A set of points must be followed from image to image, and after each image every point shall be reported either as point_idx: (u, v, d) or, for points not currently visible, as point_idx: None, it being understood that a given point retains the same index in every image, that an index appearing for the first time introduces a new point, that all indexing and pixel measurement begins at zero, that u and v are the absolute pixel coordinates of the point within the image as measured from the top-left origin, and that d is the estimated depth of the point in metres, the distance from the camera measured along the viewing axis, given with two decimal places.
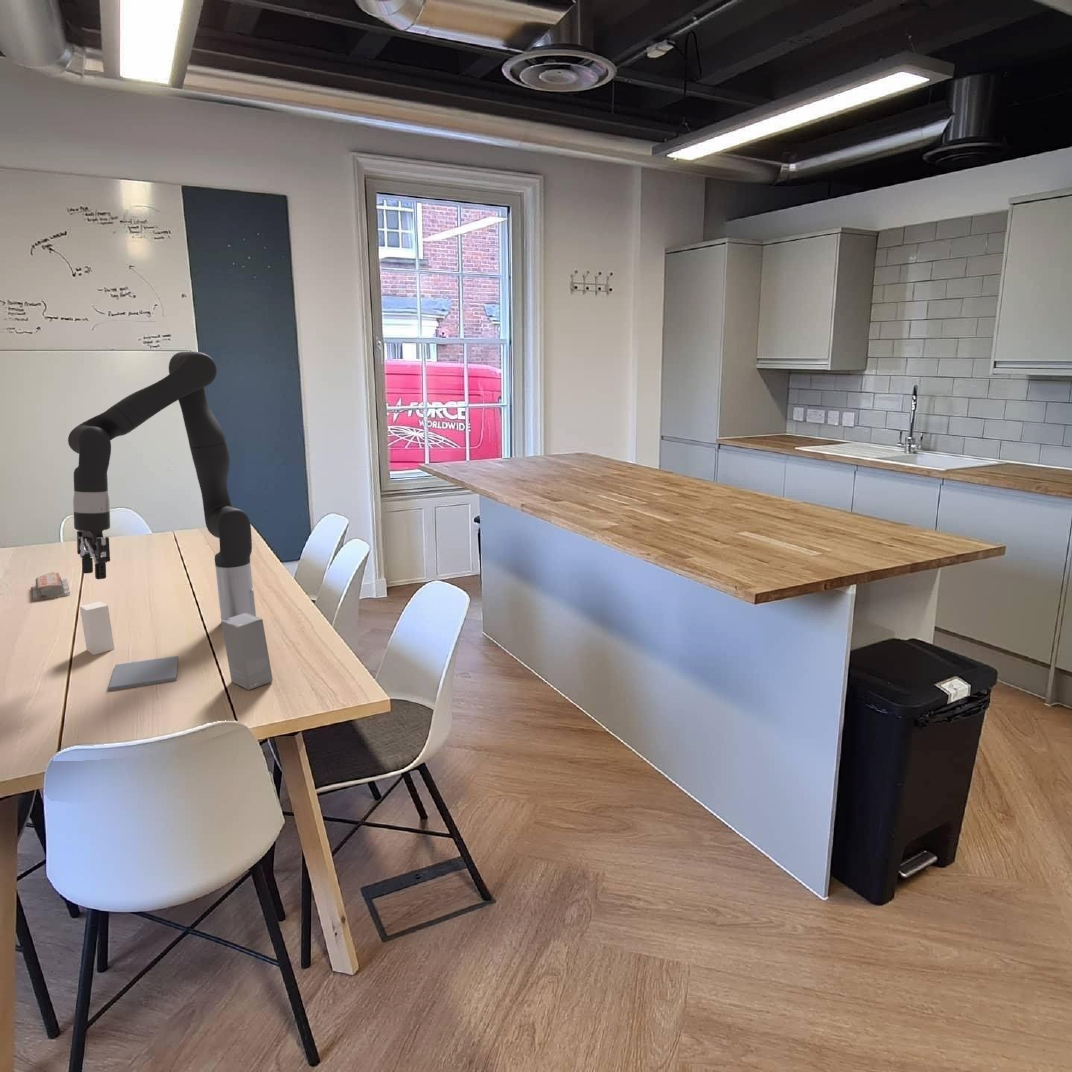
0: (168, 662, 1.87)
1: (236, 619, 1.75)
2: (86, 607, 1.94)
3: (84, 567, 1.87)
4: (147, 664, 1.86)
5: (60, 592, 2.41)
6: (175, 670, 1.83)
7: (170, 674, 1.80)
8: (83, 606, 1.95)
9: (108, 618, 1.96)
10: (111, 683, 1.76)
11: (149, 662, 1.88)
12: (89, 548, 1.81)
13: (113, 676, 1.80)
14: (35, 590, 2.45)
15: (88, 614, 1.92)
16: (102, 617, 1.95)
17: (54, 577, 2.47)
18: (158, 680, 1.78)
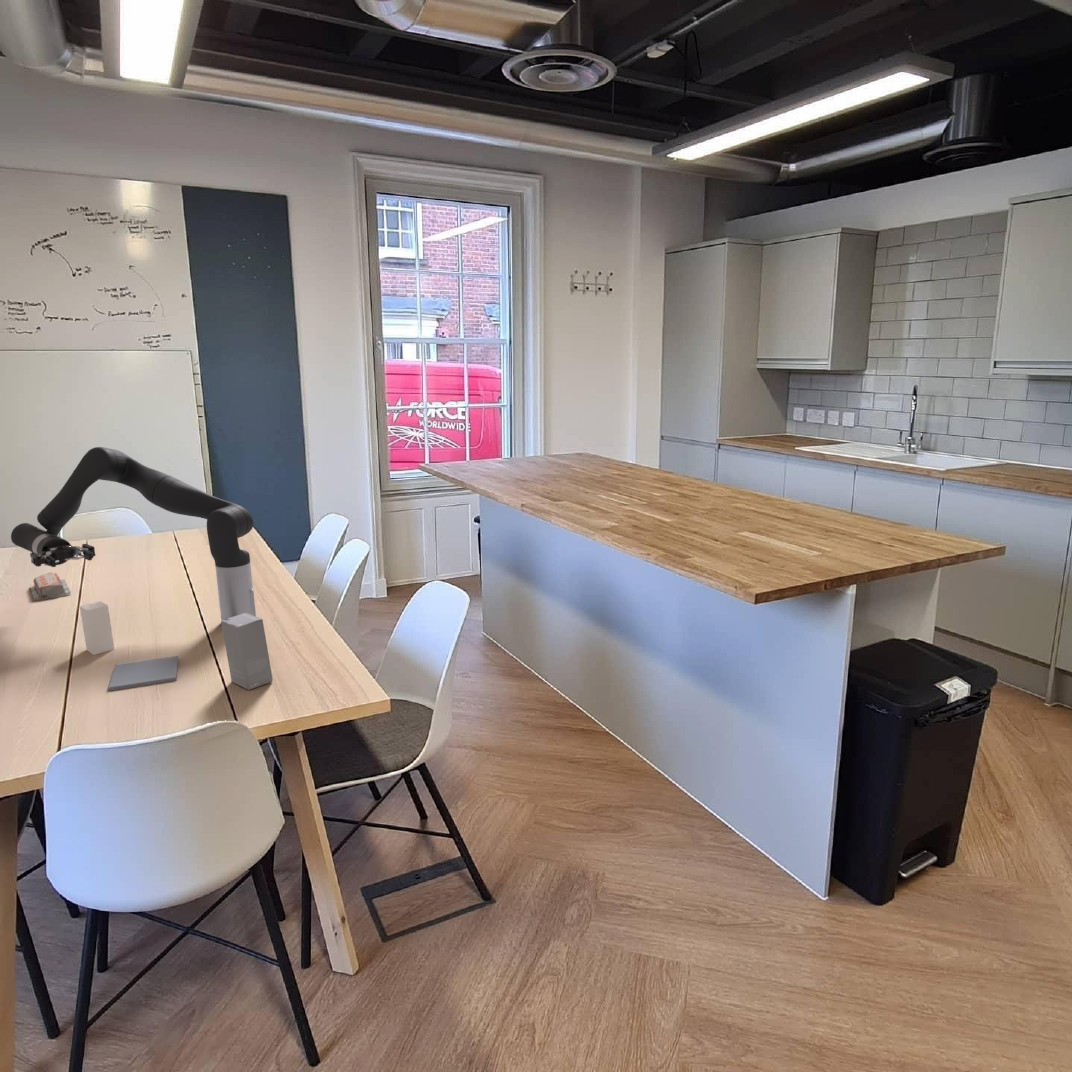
0: (168, 662, 1.87)
1: (236, 619, 1.75)
2: (86, 607, 1.94)
3: (87, 558, 2.04)
4: (147, 664, 1.86)
5: (61, 592, 2.41)
6: (175, 670, 1.83)
7: (170, 674, 1.80)
8: (83, 606, 1.95)
9: (108, 618, 1.96)
10: (111, 683, 1.76)
11: (149, 662, 1.88)
12: None
13: (113, 676, 1.80)
14: (34, 590, 2.45)
15: (88, 614, 1.92)
16: (102, 617, 1.95)
17: (53, 577, 2.47)
18: (158, 680, 1.78)
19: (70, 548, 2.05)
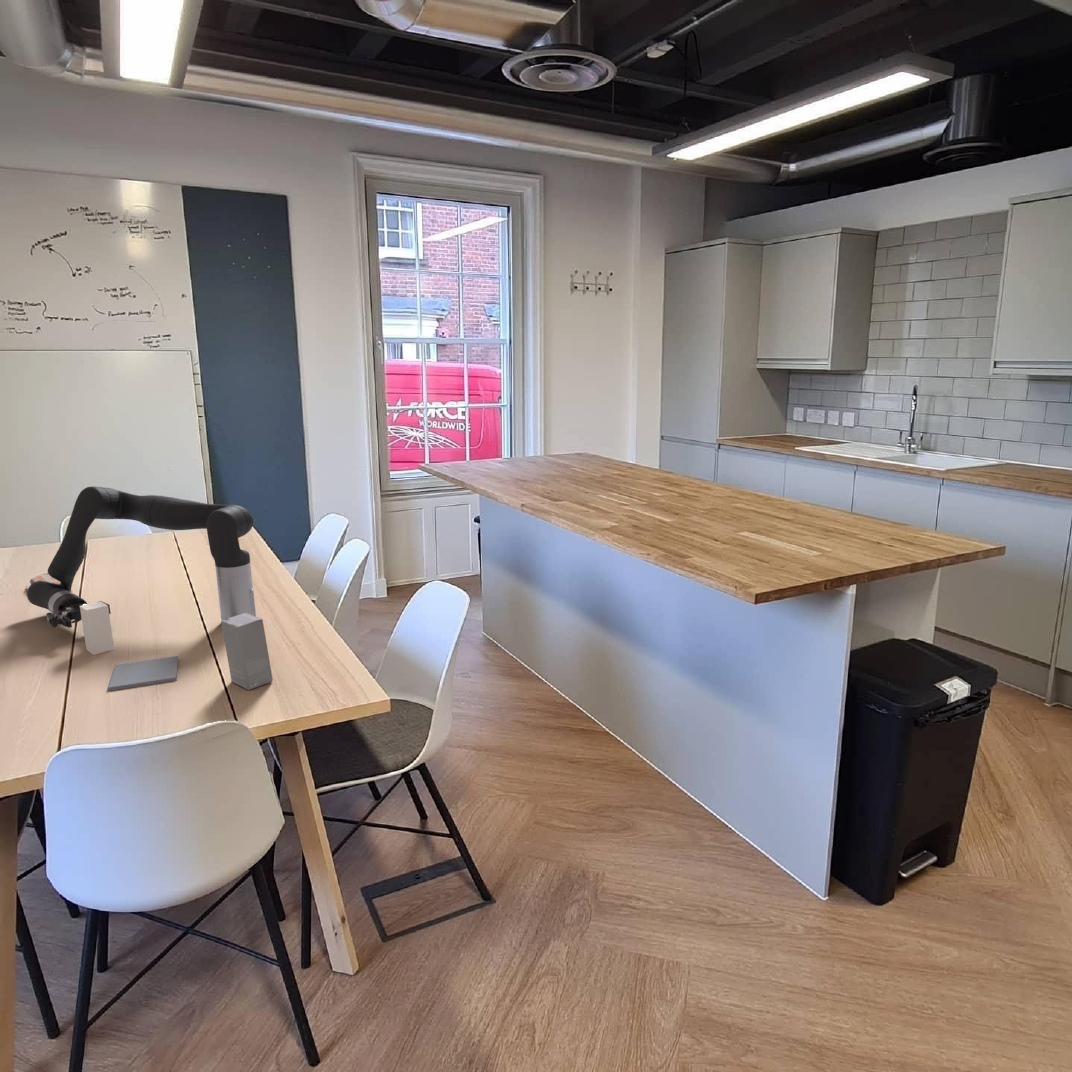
0: (168, 662, 1.87)
1: (236, 619, 1.75)
2: (86, 607, 1.94)
3: None
4: (147, 664, 1.86)
5: None
6: (175, 670, 1.83)
7: (170, 674, 1.80)
8: (83, 606, 1.95)
9: (108, 618, 1.96)
10: (111, 683, 1.76)
11: (149, 662, 1.88)
12: None
13: (113, 676, 1.80)
14: None
15: (88, 614, 1.92)
16: (102, 617, 1.95)
17: None
18: (158, 680, 1.78)
19: None
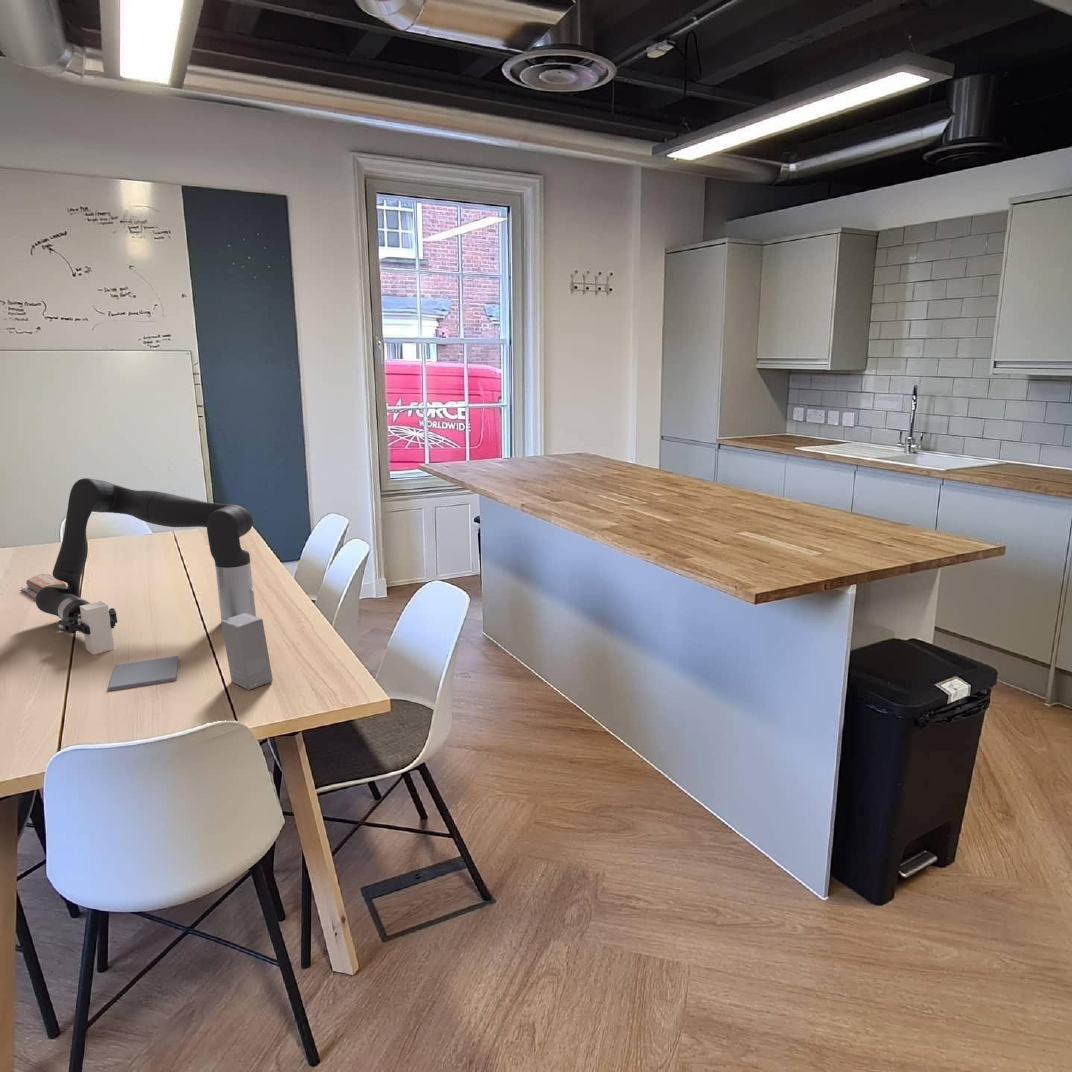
0: (168, 662, 1.87)
1: (236, 619, 1.75)
2: (86, 607, 1.94)
3: None
4: (147, 664, 1.86)
5: None
6: (175, 670, 1.83)
7: (170, 674, 1.80)
8: (83, 606, 1.95)
9: (108, 618, 1.96)
10: (111, 683, 1.76)
11: (149, 662, 1.88)
12: None
13: (113, 676, 1.80)
14: (31, 591, 2.44)
15: (88, 614, 1.92)
16: (102, 617, 1.95)
17: (50, 577, 2.47)
18: (158, 680, 1.78)
19: None
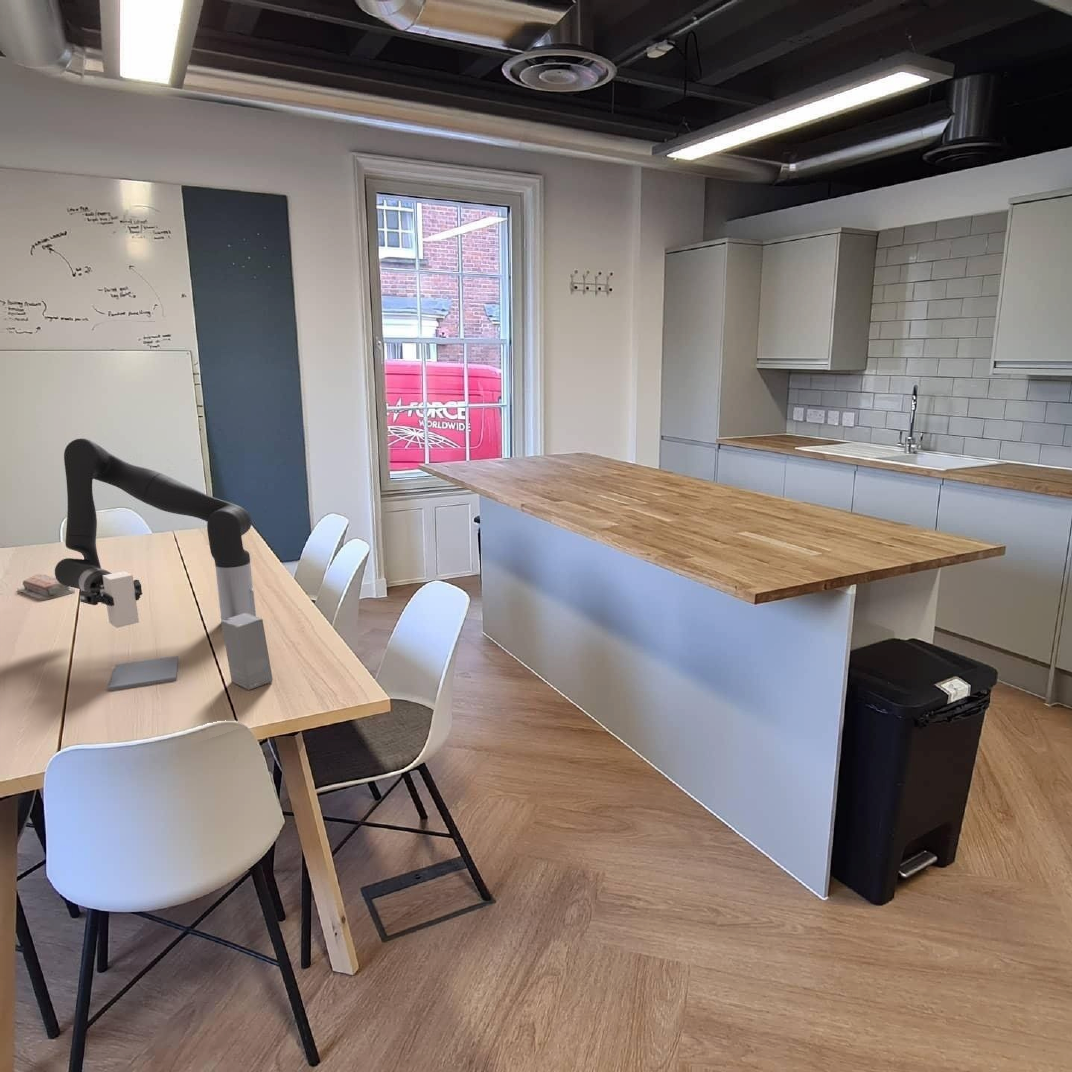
0: (168, 662, 1.87)
1: (236, 619, 1.75)
2: (110, 577, 1.80)
3: None
4: (147, 664, 1.86)
5: (66, 590, 2.43)
6: (175, 670, 1.83)
7: (170, 674, 1.80)
8: (106, 575, 1.81)
9: (133, 589, 1.82)
10: (111, 683, 1.76)
11: (149, 662, 1.88)
12: None
13: (113, 676, 1.80)
14: (30, 592, 2.43)
15: (112, 583, 1.79)
16: (126, 587, 1.81)
17: (48, 577, 2.46)
18: (158, 680, 1.78)
19: None
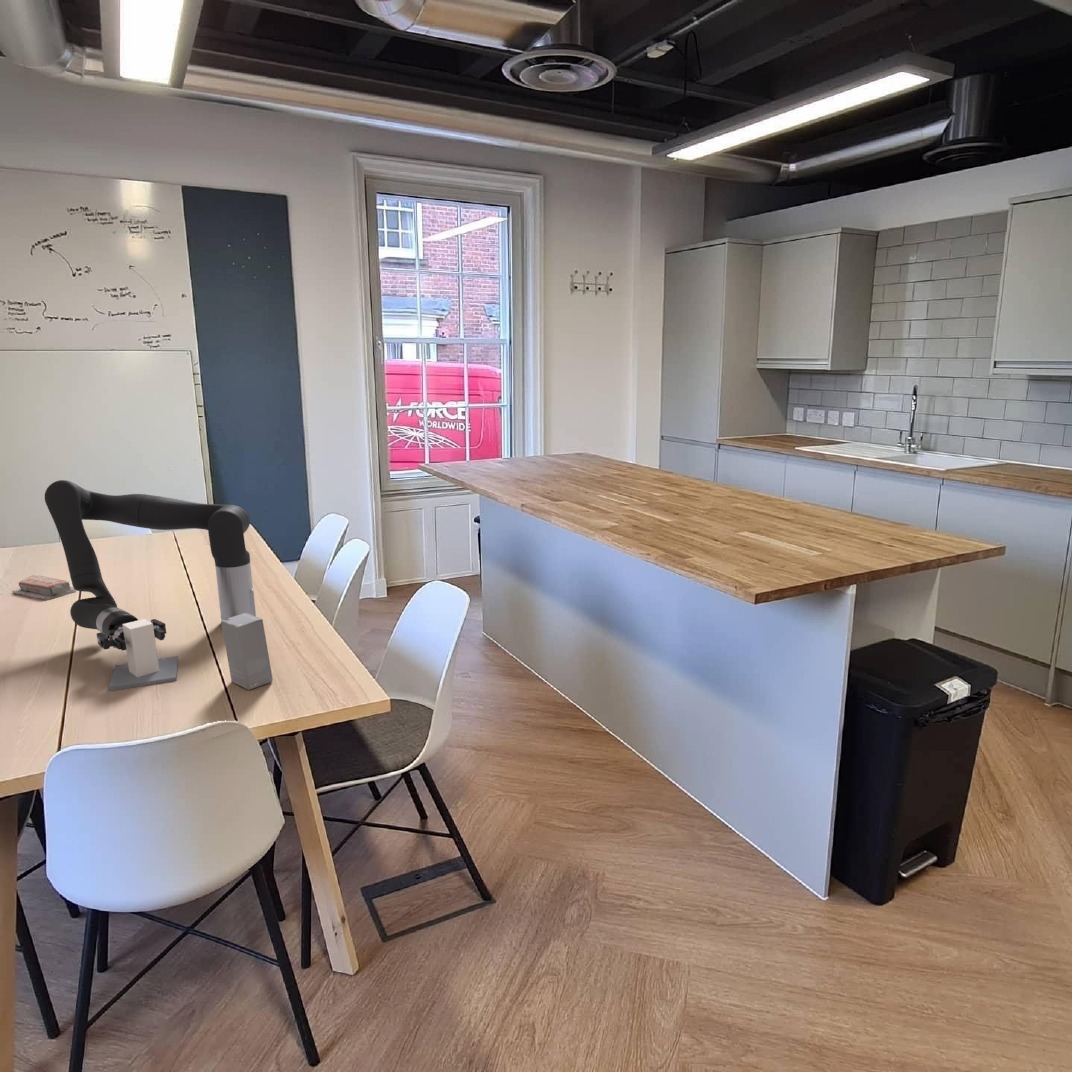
0: (168, 662, 1.87)
1: (236, 619, 1.75)
2: (130, 626, 1.78)
3: (158, 638, 1.83)
4: None
5: (68, 589, 2.44)
6: (175, 670, 1.83)
7: (170, 674, 1.80)
8: (126, 624, 1.79)
9: (153, 637, 1.80)
10: (111, 683, 1.76)
11: None
12: None
13: (113, 676, 1.80)
14: (29, 593, 2.42)
15: (132, 633, 1.77)
16: (146, 636, 1.79)
17: (46, 578, 2.46)
18: (158, 680, 1.78)
19: None
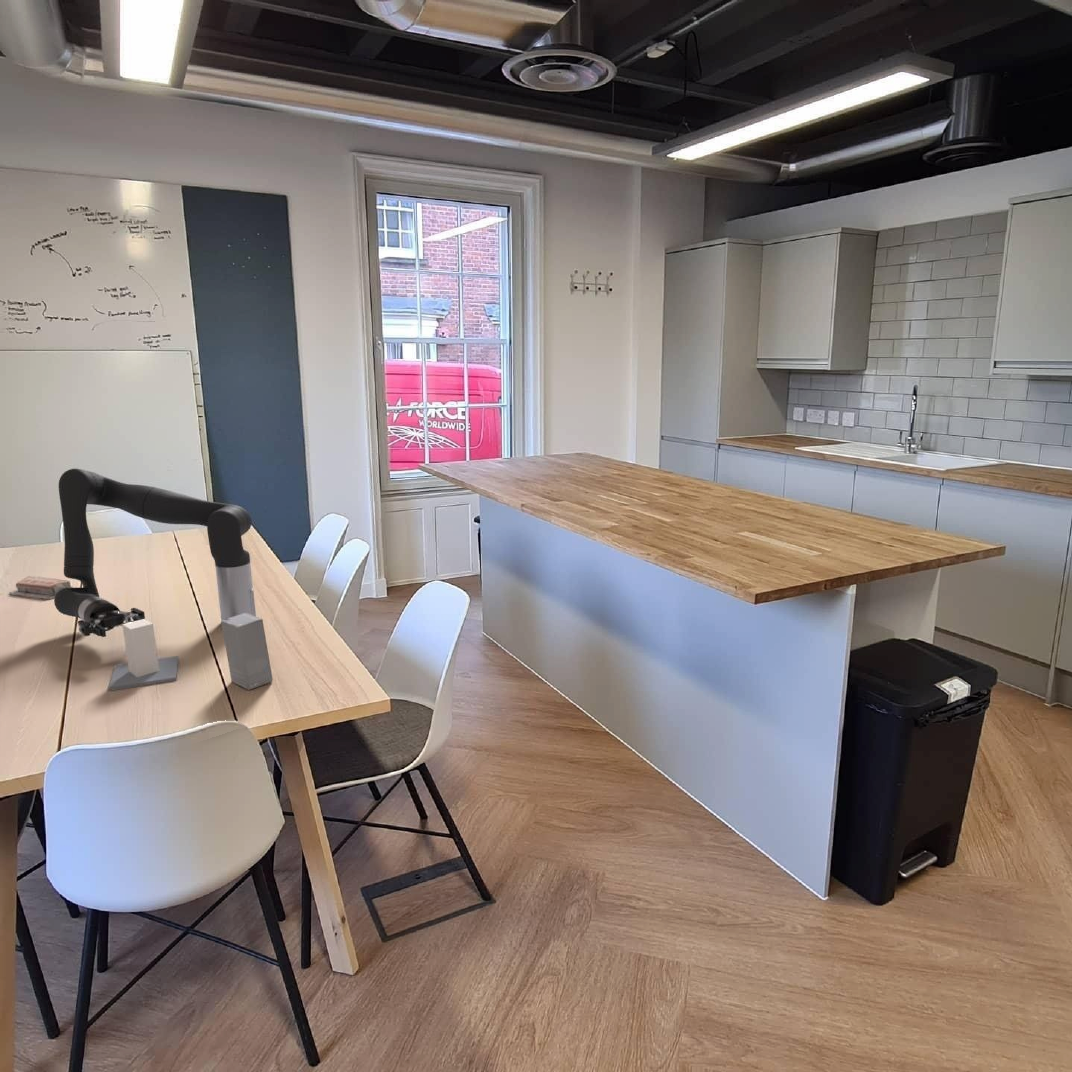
0: (168, 662, 1.87)
1: (236, 619, 1.75)
2: (130, 626, 1.78)
3: None
4: None
5: None
6: (175, 670, 1.83)
7: (170, 674, 1.80)
8: (126, 624, 1.79)
9: (153, 637, 1.80)
10: (111, 683, 1.76)
11: None
12: None
13: (113, 676, 1.80)
14: (29, 593, 2.42)
15: (132, 633, 1.77)
16: (146, 636, 1.79)
17: (44, 578, 2.46)
18: (158, 680, 1.78)
19: (119, 614, 1.94)
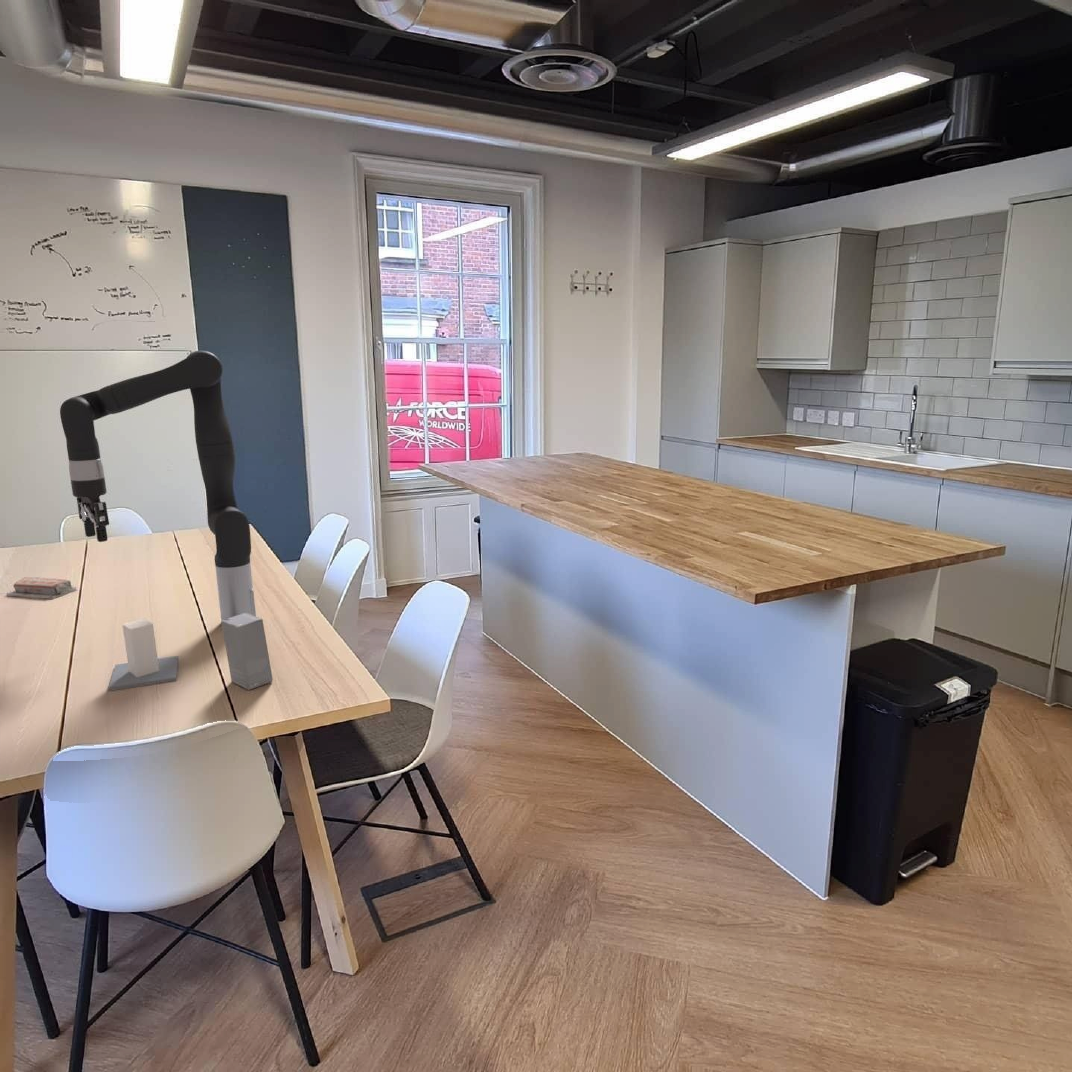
0: (168, 662, 1.87)
1: (236, 619, 1.75)
2: (130, 626, 1.78)
3: (87, 531, 1.99)
4: None
5: (70, 588, 2.45)
6: (175, 670, 1.83)
7: (170, 674, 1.80)
8: (126, 624, 1.79)
9: (153, 637, 1.80)
10: (111, 683, 1.76)
11: None
12: (89, 513, 1.93)
13: (113, 676, 1.80)
14: (28, 594, 2.41)
15: (132, 633, 1.77)
16: (146, 636, 1.79)
17: (43, 578, 2.46)
18: (158, 680, 1.78)
19: None
